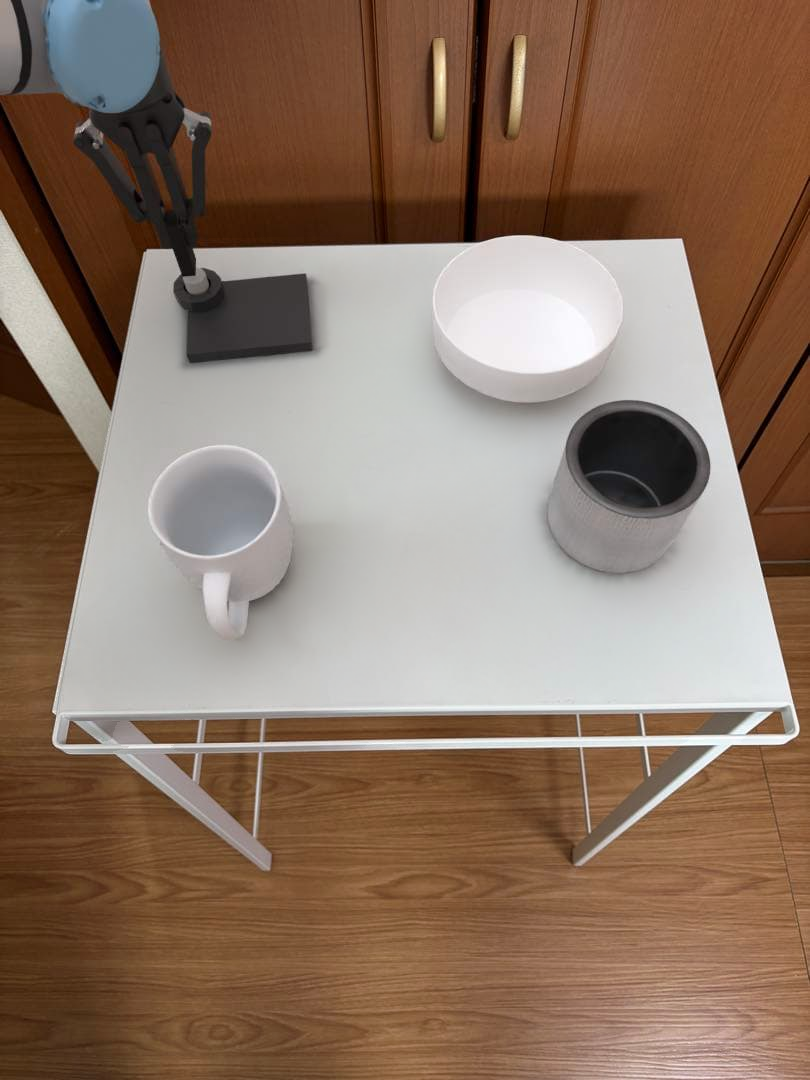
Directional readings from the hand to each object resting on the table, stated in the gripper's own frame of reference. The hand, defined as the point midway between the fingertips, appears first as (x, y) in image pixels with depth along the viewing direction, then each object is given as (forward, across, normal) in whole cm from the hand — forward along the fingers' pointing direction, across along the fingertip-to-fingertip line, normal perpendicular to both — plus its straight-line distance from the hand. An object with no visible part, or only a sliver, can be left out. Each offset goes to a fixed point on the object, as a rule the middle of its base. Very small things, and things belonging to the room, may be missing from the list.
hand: (189, 267), depth 84 cm
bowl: (+6, -36, +13) cm, 38 cm away
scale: (+6, -6, +3) cm, 9 cm away
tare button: (+3, 0, 0) cm, 3 cm away
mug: (+6, -5, +37) cm, 38 cm away
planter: (+6, -41, +35) cm, 54 cm away
